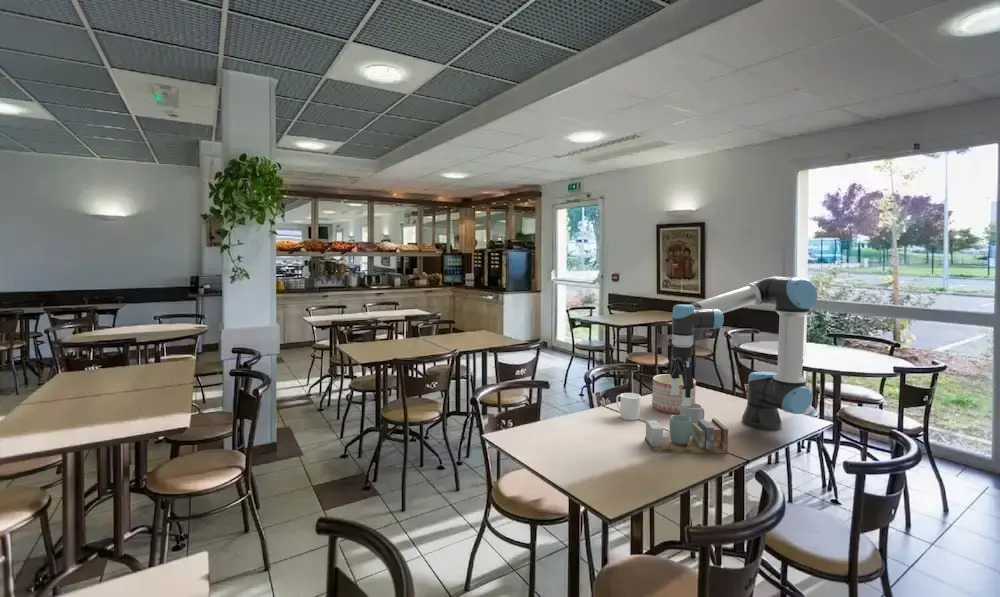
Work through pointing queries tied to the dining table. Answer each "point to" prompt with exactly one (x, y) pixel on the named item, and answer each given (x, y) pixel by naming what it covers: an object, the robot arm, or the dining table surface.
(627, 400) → the mug
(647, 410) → the dining table surface
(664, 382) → the planter
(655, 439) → the bookend
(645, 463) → the dining table surface
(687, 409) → the mug
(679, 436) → the cup
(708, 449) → the caddy
